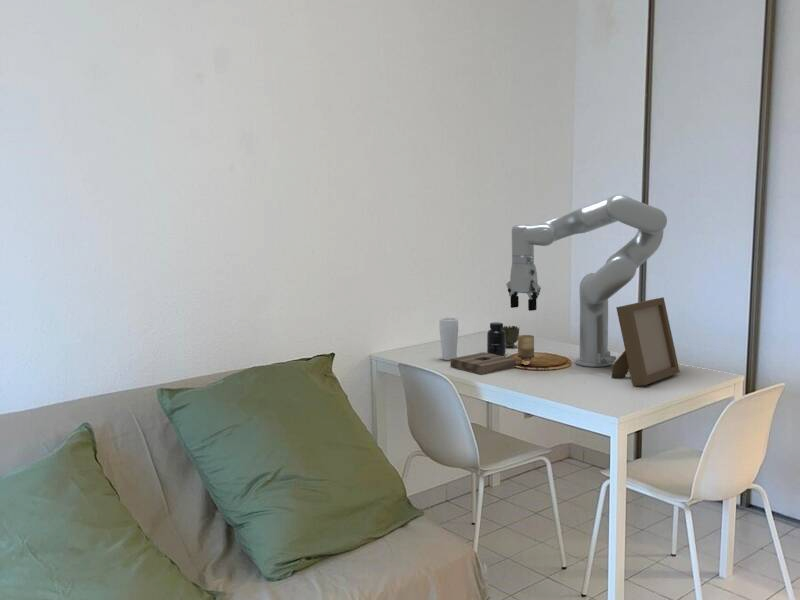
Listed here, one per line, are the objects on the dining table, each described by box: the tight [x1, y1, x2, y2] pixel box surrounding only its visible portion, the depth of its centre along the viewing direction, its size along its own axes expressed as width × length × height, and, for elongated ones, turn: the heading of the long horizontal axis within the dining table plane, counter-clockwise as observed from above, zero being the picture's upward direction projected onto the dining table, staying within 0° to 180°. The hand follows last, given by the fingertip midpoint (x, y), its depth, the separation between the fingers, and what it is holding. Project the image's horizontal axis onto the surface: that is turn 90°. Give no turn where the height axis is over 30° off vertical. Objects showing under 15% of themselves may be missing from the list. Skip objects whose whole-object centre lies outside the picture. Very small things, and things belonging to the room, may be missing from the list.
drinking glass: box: [439, 317, 459, 361], centre depth 277 cm, size 7×7×15 cm
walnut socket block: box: [449, 351, 517, 376], centre depth 264 cm, size 16×16×3 cm
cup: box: [502, 325, 520, 349], centre depth 298 cm, size 8×7×8 cm
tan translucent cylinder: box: [517, 334, 535, 361], centre depth 266 cm, size 6×6×10 cm
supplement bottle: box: [486, 321, 507, 357], centre depth 283 cm, size 7×7×12 cm
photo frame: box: [611, 297, 681, 387], centre depth 241 cm, size 15×22×25 cm
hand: (523, 308), depth 267 cm, fingers open, 9 cm apart
